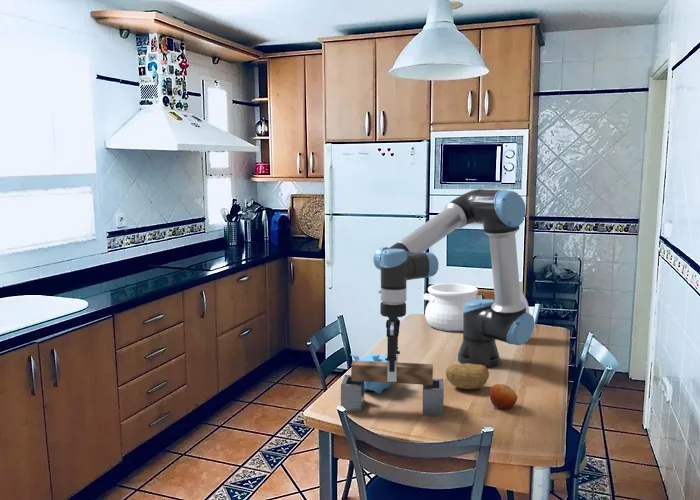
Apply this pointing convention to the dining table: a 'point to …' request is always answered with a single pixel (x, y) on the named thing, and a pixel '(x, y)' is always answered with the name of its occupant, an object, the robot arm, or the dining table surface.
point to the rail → (405, 372)
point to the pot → (448, 305)
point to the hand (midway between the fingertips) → (392, 378)
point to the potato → (467, 375)
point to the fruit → (503, 396)
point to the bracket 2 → (433, 399)
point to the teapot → (373, 385)
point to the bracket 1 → (352, 394)
